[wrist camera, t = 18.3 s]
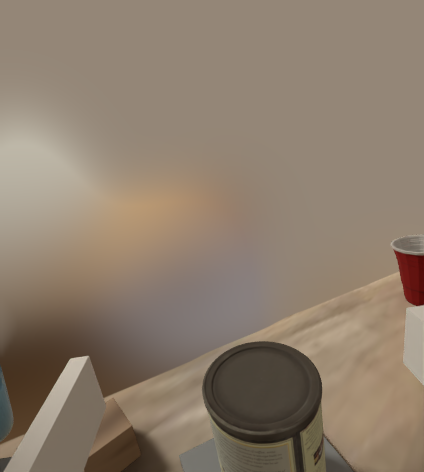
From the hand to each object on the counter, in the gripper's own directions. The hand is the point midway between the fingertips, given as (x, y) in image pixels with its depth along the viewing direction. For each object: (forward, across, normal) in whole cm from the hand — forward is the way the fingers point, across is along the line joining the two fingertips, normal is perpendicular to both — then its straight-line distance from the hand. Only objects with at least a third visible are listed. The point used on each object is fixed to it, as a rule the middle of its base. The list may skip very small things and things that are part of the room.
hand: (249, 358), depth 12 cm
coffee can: (+11, +1, -26) cm, 28 cm away
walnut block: (+18, -18, -27) cm, 37 cm away
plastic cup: (+39, +37, -27) cm, 60 cm away
